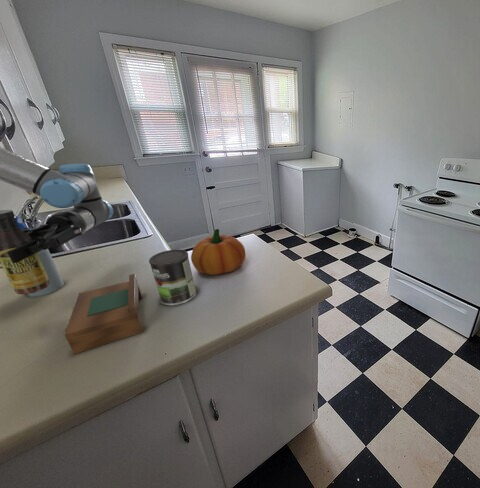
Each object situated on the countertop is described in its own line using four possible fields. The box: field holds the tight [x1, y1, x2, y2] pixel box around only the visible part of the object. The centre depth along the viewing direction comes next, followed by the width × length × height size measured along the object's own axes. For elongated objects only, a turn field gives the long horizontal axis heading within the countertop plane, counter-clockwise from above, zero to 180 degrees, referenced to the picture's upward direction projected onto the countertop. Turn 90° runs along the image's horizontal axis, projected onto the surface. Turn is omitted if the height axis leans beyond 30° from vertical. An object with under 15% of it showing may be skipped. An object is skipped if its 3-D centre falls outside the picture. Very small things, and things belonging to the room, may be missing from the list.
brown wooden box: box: [64, 273, 144, 355], centre depth 74 cm, size 14×20×8 cm
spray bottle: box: [15, 215, 65, 297], centre depth 85 cm, size 9×9×25 cm
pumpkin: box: [190, 228, 247, 276], centre depth 101 cm, size 19×19×15 cm
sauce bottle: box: [0, 209, 49, 295], centre depth 63 cm, size 7×6×20 cm
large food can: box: [148, 249, 197, 307], centre depth 83 cm, size 10×10×14 cm
